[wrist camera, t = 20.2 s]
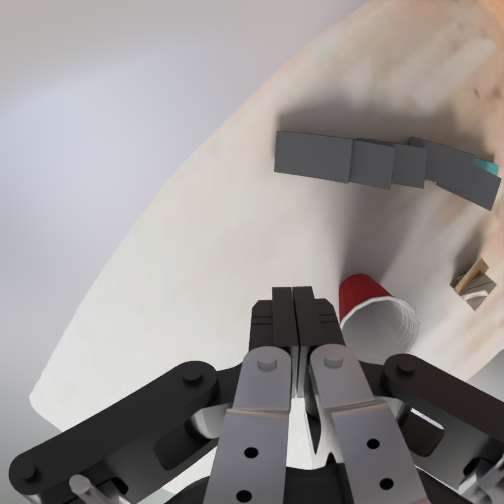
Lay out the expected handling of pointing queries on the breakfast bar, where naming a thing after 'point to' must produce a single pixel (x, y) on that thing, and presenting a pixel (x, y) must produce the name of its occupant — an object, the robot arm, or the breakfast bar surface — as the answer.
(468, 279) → the architectural model
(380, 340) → the plastic cup
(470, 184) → the domino
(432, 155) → the domino
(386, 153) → the domino
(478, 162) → the domino
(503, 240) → the breakfast bar surface
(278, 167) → the domino
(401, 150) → the domino
